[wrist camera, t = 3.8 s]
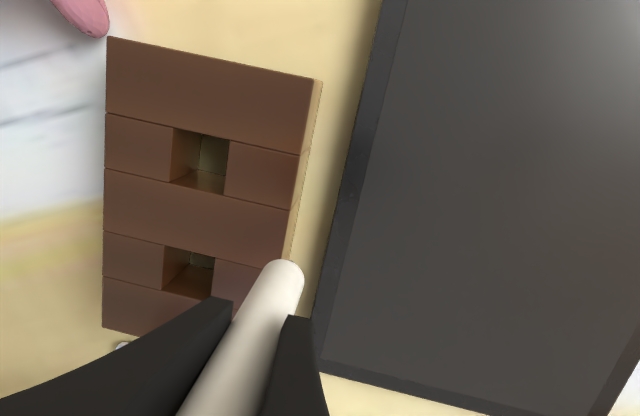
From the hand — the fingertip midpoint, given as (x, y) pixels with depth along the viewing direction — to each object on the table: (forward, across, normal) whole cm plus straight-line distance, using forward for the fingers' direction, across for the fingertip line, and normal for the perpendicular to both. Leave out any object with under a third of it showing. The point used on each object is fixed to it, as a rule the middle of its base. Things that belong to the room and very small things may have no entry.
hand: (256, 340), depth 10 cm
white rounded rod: (+4, 0, 0) cm, 4 cm away
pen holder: (+10, +5, 0) cm, 11 cm away
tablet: (+10, -9, -3) cm, 14 cm away
